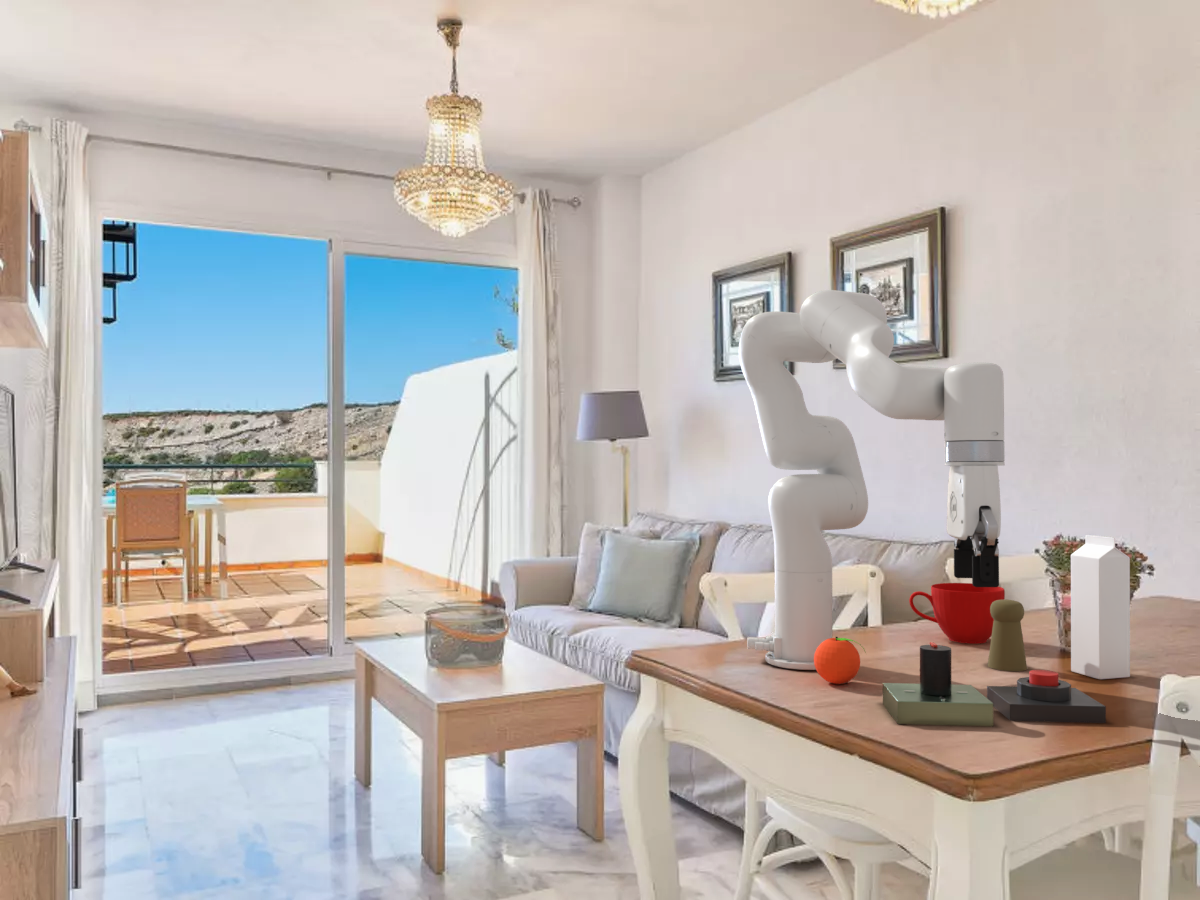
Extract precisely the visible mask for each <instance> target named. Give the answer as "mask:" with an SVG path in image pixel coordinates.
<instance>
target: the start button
mask: <svg viewBox="0 0 1200 900" xmlns="http://www.w3.org/2000/svg"><path fill="white" fill-rule="evenodd" d="M1028 677H1029V683H1031V684H1034V685H1041V686H1058V680H1059V673H1058V672H1056V671H1053V670H1047V669H1032V670H1031V669H1030V670H1029V671H1028Z"/></svg>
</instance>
